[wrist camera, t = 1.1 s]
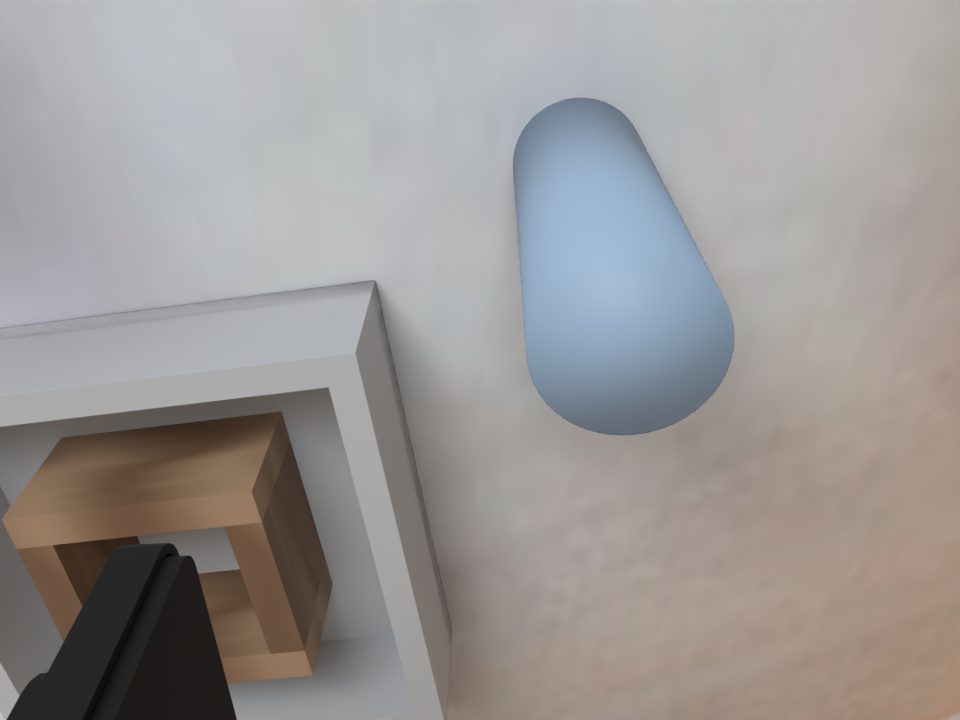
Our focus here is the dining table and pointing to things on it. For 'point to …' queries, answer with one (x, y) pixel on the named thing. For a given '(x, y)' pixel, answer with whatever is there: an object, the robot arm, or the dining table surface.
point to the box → (319, 455)
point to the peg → (611, 277)
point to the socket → (180, 507)
